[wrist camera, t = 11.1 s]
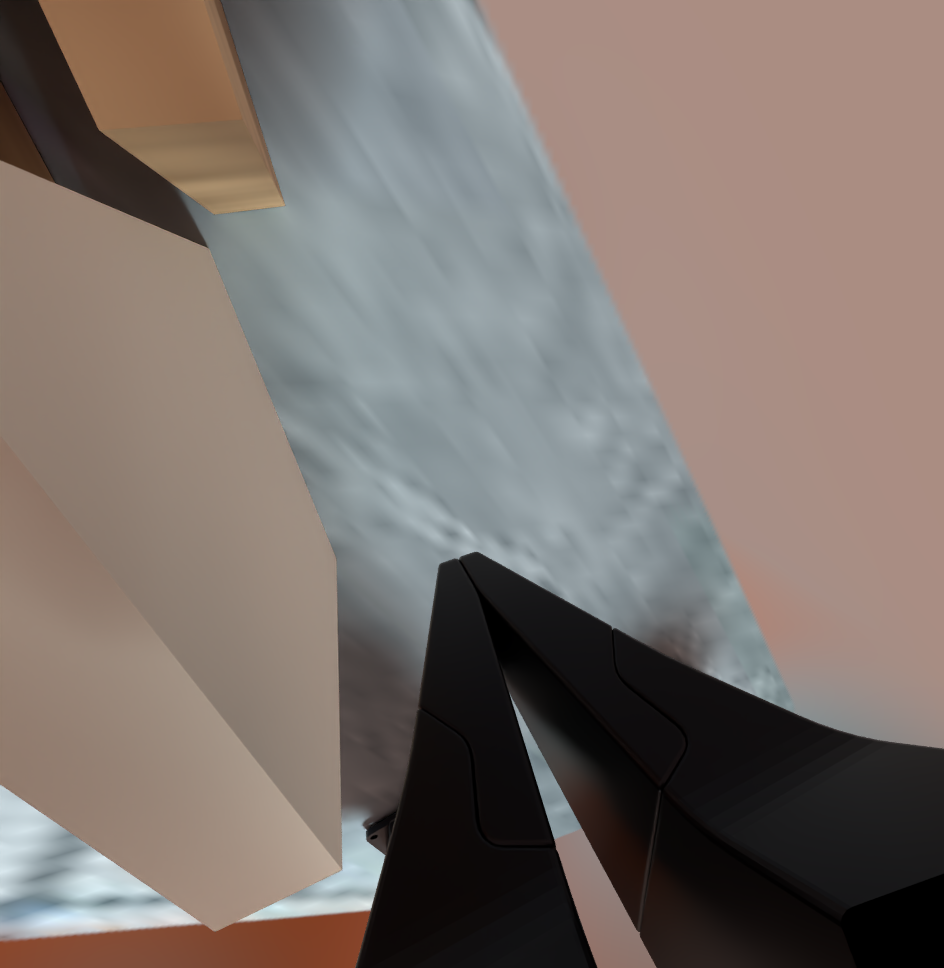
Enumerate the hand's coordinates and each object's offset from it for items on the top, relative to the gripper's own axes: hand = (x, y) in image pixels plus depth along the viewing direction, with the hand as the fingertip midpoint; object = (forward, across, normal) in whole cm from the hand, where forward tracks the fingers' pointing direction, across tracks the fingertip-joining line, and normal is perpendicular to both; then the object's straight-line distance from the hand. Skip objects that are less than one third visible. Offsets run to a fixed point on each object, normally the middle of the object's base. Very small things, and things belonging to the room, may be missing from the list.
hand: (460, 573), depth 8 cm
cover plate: (+9, +5, -1) cm, 11 cm away
